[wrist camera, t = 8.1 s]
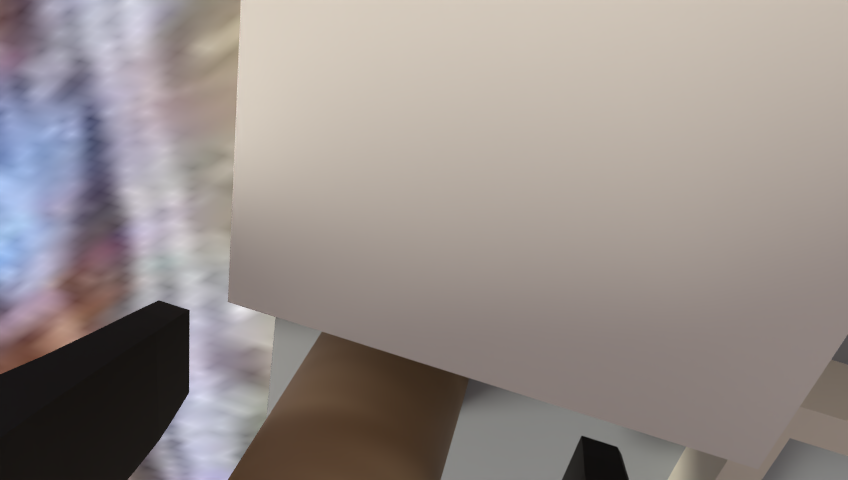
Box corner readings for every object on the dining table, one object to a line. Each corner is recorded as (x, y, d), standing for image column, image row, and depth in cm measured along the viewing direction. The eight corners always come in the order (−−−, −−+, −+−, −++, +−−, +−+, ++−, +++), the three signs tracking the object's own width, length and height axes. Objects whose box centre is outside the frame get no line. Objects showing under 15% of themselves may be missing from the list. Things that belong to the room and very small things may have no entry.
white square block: (908, -172, 7) (1214, -215, 4) (705, 251, 10) (758, 468, 7) (424, -269, 8) (257, -393, 4) (360, 153, 11) (228, 301, 7)
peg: (485, 324, 12) (392, 652, 7) (451, 437, 14) (355, 774, 9) (330, 277, 12) (134, 557, 7) (314, 392, 14) (143, 691, 9)
